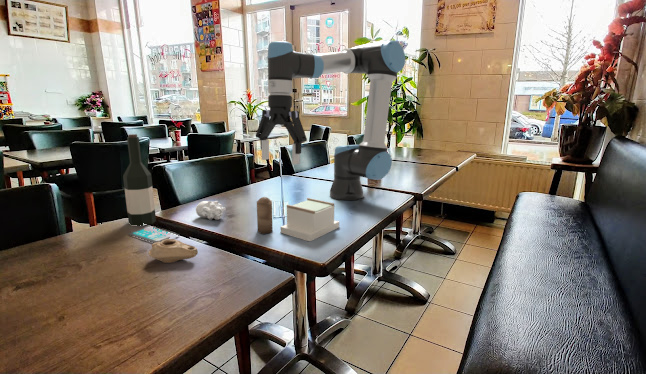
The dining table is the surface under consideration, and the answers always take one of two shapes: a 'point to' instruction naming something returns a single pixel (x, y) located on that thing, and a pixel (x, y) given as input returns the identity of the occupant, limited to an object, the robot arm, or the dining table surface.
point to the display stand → (310, 219)
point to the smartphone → (151, 235)
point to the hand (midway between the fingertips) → (280, 161)
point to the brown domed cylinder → (264, 215)
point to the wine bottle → (138, 187)
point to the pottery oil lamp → (172, 251)
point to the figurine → (210, 210)
